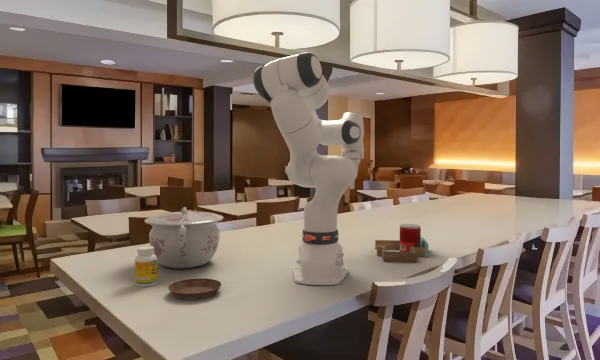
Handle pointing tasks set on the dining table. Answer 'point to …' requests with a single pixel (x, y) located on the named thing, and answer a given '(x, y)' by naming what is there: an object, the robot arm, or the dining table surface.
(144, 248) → the supplement bottle
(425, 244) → the end stop
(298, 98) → the robot arm
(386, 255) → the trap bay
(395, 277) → the dining table surface
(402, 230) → the canned food
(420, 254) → the brown wooden tray
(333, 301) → the dining table surface
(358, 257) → the dining table surface
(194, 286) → the saucer
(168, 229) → the chamber pot
